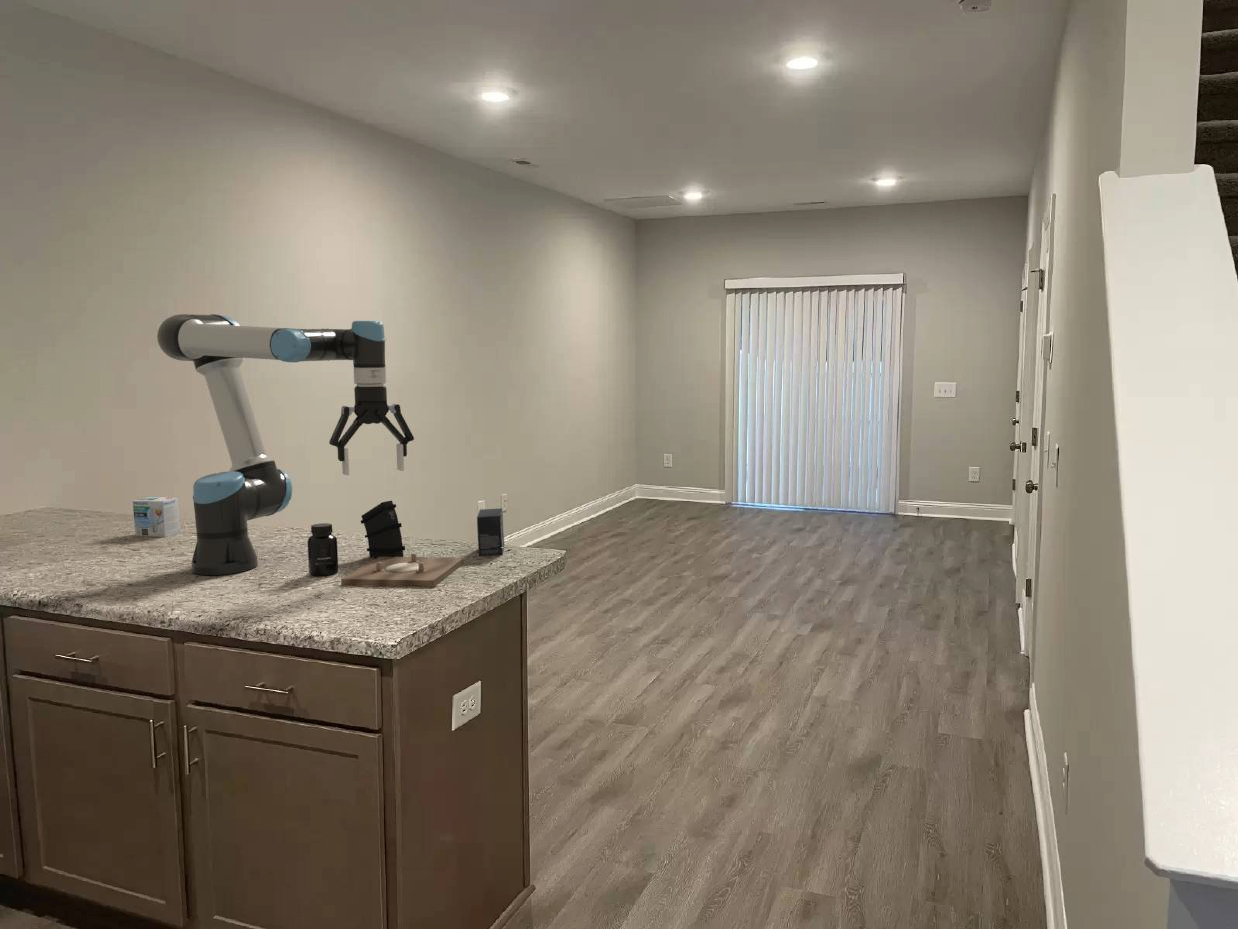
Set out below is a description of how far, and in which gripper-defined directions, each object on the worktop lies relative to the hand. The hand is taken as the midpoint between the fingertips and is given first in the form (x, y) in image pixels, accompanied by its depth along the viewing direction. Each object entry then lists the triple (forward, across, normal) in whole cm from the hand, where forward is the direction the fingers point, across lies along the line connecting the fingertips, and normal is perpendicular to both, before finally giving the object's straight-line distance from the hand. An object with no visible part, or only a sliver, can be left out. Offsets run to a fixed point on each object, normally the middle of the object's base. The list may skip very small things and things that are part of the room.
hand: (373, 472), depth 226 cm
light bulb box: (+26, -40, +80) cm, 93 cm away
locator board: (+23, +3, -13) cm, 26 cm away
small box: (+23, +30, -3) cm, 38 cm away
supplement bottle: (+24, -13, -1) cm, 27 cm away
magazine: (+24, +4, +7) cm, 25 cm away
